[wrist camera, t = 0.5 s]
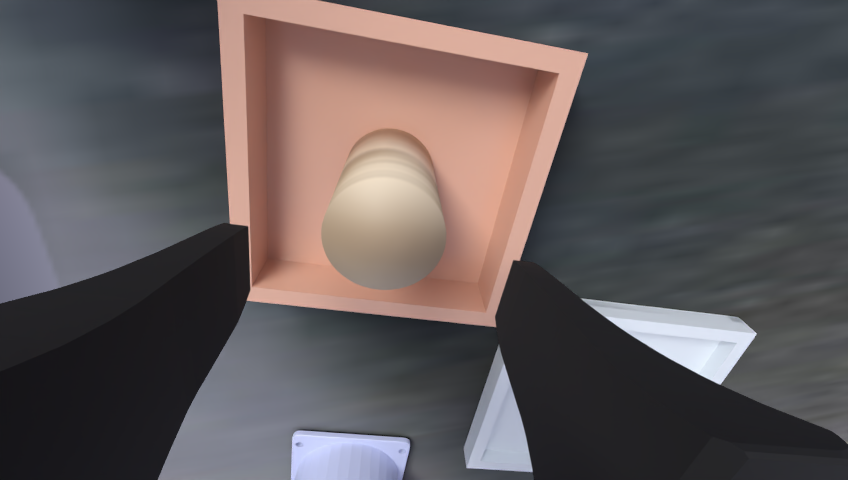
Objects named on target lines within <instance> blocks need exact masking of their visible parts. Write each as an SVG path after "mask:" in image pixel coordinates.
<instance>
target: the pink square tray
mask: <svg viewBox="0 0 848 480" xmlns="http://www.w3.org/2000/svg"><path fill="white" fill-rule="evenodd" d="M217 2H218V20H219V37H220V55H221V73H222V90H223V108H224V125H225V143H226V161H227V178H228V196H229V214H230V224H236V225H244V226H248V230H249V260H250V289H251V290H250V293H249V296H248V298H247V301H255V302H265V303H274V304H284V305H293V306H302V307H312V308H321V309H331V310H340V311H349V312H359V313H368V314H378V315H387V316H397V317H406V318H415V319H425V320H434V321H444V322H453V323H462V324H472V325H481V326H491V327H496V321H495V315H496V312H497V309H498V306H499V303H500V299H501V296H502V293H503V290H504V287H505V284H506V281H507V278H508V275H509V272H510V268H511V265H512V262H513V260H518V261H520V258H521V255H522V252H523V249H524V246H525V243H526V240H527V237H528V234H529V231H530V228H531V225H532V222H533V219H534V216H535V213H536V210H537V207H538V204H539V201H540V198H541V195H542V192H543V188H544V185H545V182H546V179H547V176H548V173H549V170H550V167H551V164H552V161H553V158H554V155H555V152H556V149H557V146H558V143H559V140H560V137H561V134H562V131H563V128H564V125H565V122H566V119H567V116H568V113H569V110H570V107H571V104H572V101H573V98H574V95H575V92H576V89H577V86H578V82H579V79H580V76H581V73H582V70H583V67H584V64H585V61H586V58H587V55H588V53H583V52H578V51H573V50H568V49H562V48H557V47H552V46H547V45H542V44H537V43H532V42H527V41H522V40H517V39H512V38H506V37H501V36H496V35H491V34H486V33H481V32H476V31H471V30H466V29H461V28H456V27H451V26H445V25H440V24H435V23H430V22H425V21H420V20H415V19H410V18H405V17H400V16H395V15H389V14H384V13H379V12H374V11H369V10H364V9H359V8H354V7H349V6H344V5H339V4H333V3H328V2H323V1H318V0H217ZM386 128H392V129H398V130H402V131H405V132H408V133H410V134H411V135H413V136H415V137H416V138H417V139H418V140H419V141H421V142H422V144H423V145H424V146H425V147H426V149H427V150H428V152H429V154H430V157H431V160H432V164H433V168H434V173H435V178H436V183H437V188H438V193H439V198H440V202H441V207H442V212H443V217H444V222H445V227H446V245H445V249H444V253H443V255H442V257H441V259H440V261H439V263H438V264H437V266H436V267H435V268H434V269H433V270H432V272H430V273H429V274H428V275H427V276H426V277H424V278H423V279H422V280H420V281H418V282H416V283H414V284H412V285H410V286H407V287H403V288H400V289H393V290H377V289H371V288H367V287H363V286H360V285H358V284H356V283H354V282H352V281H350V280H348V279H347V278H345V277H344V276H342V275H341V274H340V273H339V272H338V271H337V270H336V269H335V268H334V267H333V265H332V264H331V263H330V261H329V260H328V258H327V256H326V254H325V251H324V248H323V245H322V239H321V229H322V223H323V219H324V216H325V213H326V211H327V208H328V206H329V203H330V201H331V198H332V196H333V193H334V191H335V188H336V186H337V183H338V181H339V178H340V176H341V173H342V171H343V168H344V165H345V163H346V160H347V158H348V155H349V153H350V151H351V149H352V148H353V146H354V145H355V143H356V142H357V141H358V140H359V139H360V138H362V137H363V136H365V135H366V134H368V133H370V132H372V131H375V130H378V129H386Z"/></svg>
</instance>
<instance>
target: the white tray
mask: <svg viewBox="0 0 848 480" xmlns="http://www.w3.org/2000/svg"><path fill="white" fill-rule="evenodd" d="M581 299H582V298H581ZM582 300H583V301H584V302H586V303H587V304H588V305H590V306H591V307H592V308H594V309H595V310H596V311H598V312H599V313H600V314H602V315H603V316H604V317H606V318H607V319H608V320H610V321H611V322H613V323H614V324H615V325H617V326H618V327H620V328H621V329H623V330H624V331H626V332H627V333H629V334H630V335H632V336H633V337H635V338H636V339H638V340H640V341H641V342H643V343H644V344H646V345H648V346H649V347H651V348H652V349H654V350H656V351H657V352H659V353H661V354H662V355H664V356H666V357H668V358H669V359H671V360H673V361H675V362H677V363H679V364H680V365H682V366H684V367H686V368H688V369H690V370H692V371H694V372H696V373H697V374H699V375H701V376H703V377H705V378H707V379H709V380H711V381H713V382H715V383H718V384H721V383H722V382H723V380H724V379H725V377H726V376H727V375H728V373H729V372H730V371H731V369H732V368H733V366H734V365H735V364H736V362H737V361H738V359H739V358H740V357H741V355H742V354H743V353H744V351H745V350H746V348H747V347H748V346H749V344H750V343H751V341H752V340H753V339H754V337H755V336H756V334H757V333H756V332H754V331H753V330H752V329H751V328H750V327H749V326H748V325H747V324H745V323H744V322H743V321H742V320H741V319H740V318H739V317H734V316H726V315H717V314H709V313H700V312H692V311H683V310H675V309H666V308H658V307H649V306H641V305H632V304H624V303H616V302H607V301H599V300H590V299H582ZM464 454H465V461H466V468H476V469H492V470H508V471H524V472H533V470H532V465H531V460H530V455H529V450H528V445H527V440H526V435H525V431H524V427H523V423H522V420H521V416H520V413H519V410H518V407H517V403H516V400H515V397H514V394H513V390H512V387H511V384H510V381H509V378H508V374H507V371H506V368H505V365H504V361H503V358H502V354H501V351H500V347H499V346H498V349H497V351H496V354H495V357H494V360H493V363H492V366H491V369H490V372H489V375H488V378H487V381H486V384H485V387H484V390H483V393H482V395H481V398H480V401H479V404H478V407H477V410H476V413H475V416H474V419H473V422H472V425H471V428H470V431H469V434H468V437H467V440H466V442H465V445H464Z"/></svg>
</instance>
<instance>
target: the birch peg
mask: <svg viewBox="0 0 848 480" xmlns="http://www.w3.org/2000/svg"><path fill="white" fill-rule="evenodd" d="M321 239H322V245H323V248H324V251H325V254H326V256H327V258H328V260H329V261H330V263H331V264H332V265H333V267H334V268H335V269H336V270H337V271H338V272H339V273H340V274H341V275H342V276H344V277H345V278H347V279H348V280H350V281H352V282H354V283H356V284H358V285H360V286H363V287H367V288H371V289H377V290H393V289H400V288H403V287H407V286H410V285H412V284H414V283H416V282H418V281H420V280H422V279H423V278H424V277H426V276H427V275H428V274H429V273H430V272H432V270H433V269H434V268H435V267H436V266H437V264H438V263H439V261H440V259H441V257H442V255H443V253H444V249H445V245H446V227H445V222H444V217H443V212H442V207H441V202H440V198H439V193H438V188H437V183H436V178H435V173H434V168H433V164H432V160H431V157H430V154H429V152H428V150H427V149H426V147H425V146H424V145H423V144H422V142H421V141H419V140H418V139H417V138H416V137H415V136H413V135H411V134H410V133H408V132H405V131H402V130H398V129H392V128H386V129H378V130H375V131H372V132H370V133H368V134H366V135H365V136H363V137H362V138H360V139H359V140H358V141H357V142H356V143H355V145H354V146H353V148H352V149H351V151H350V153H349V155H348V158H347V160H346V163H345V165H344V168H343V171H342V173H341V176H340V178H339V181H338V183H337V186H336V188H335V191H334V193H333V196H332V198H331V201H330V203H329V206H328V208H327V211H326V213H325V216H324V219H323V223H322V229H321Z"/></svg>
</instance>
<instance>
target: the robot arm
mask: <svg viewBox="0 0 848 480" xmlns="http://www.w3.org/2000/svg"><path fill="white" fill-rule="evenodd" d="M250 290H251V289H250V260H249V230H248V226H244V225H236V224H228V223H223V224H220V225H217V226H214V227H212V228H210V229H207V230H205V231H203V232H201V233H198V234H196V235H194V236H192V237H190V238H188V239H185V240H183V241H181V242H179V243H177V244H174V245H172V246H170V247H168V248H165V249H163V250H161V251H159V252H157V253H154V254H152V255H149V256H147V257H144V258H142V259H139V260H137V261H134V262H132V263H130V264H127V265H125V266H122V267H120V268H117V269H115V270H112V271H109V272H107V273H104V274H101V275H98V276H95V277H92V278H89V279H86V280H83V281H80V282H77V283H74V284H71V285H67V286H64V287H61V288H58V289H54V290H51V291H47V292H43V293H39V294H35V295H32V296H28V297H24V298H20V299H16V300H12V301H9V302H5V303H1V304H0V480H158V477H159V475H160V473H161V470H162V468H163V465H164V463H165V461H166V458H167V456H168V454H169V451H170V449H171V447H172V444H173V442H174V440H175V438H176V435H177V433H178V431H179V429H180V427H181V424H182V422H183V420H184V418H185V415H186V413H187V411H188V409H189V407H190V405H191V403H192V401H193V399H194V398H195V396H196V394H197V392H198V390H199V388H200V387H201V385H202V383H203V382H204V380H205V378H206V376H207V375H208V373H209V371H210V370H211V368H212V366H213V364H214V363H215V361H216V359H217V358H218V356H219V354H220V352H221V351H222V349H223V347H224V346H225V344H226V342H227V340H228V339H229V337H230V335H231V333H232V332H233V330H234V328H235V326H236V324H237V323H238V321H239V318H240V316H241V313H242V311H243V309H244V306H245V303H246V301H247V298H248V296H249V293H250ZM495 321H496V329H497V336H498V341H499V347H500V351H501V354H502V358H503V361H504V365H505V368H506V371H507V374H508V378H509V381H510V384H511V387H512V390H513V394H514V397H515V400H516V403H517V407H518V410H519V413H520V416H521V420H522V423H523V427H524V431H525V435H526V440H527V445H528V450H529V455H530V460H531V465H532V470H533V475H534V480H848V444H847V443H846V442H845V441H844V440H842V439H841V438H840V437H839V436H838V435H836V434H835V433H833V432H832V431H830V430H827V429H825V428H822V427H820V426H817V425H814V424H812V423H809V422H807V421H804V420H802V419H799V418H797V417H794V416H792V415H789V414H786V413H784V412H781V411H779V410H776V409H774V408H771V407H769V406H766V405H764V404H761V403H759V402H757V401H755V400H752V399H750V398H748V397H746V396H744V395H741V394H739V393H737V392H735V391H732V390H730V389H728V388H726V387H724V386H722V385H720V384H718V383H715V382H713V381H711V380H709V379H707V378H705V377H703V376H701V375H699V374H697V373H696V372H694V371H692V370H690V369H688V368H686V367H684V366H682V365H680V364H679V363H677V362H675V361H673V360H671V359H669V358H668V357H666V356H664V355H662V354H661V353H659V352H657V351H656V350H654V349H652V348H651V347H649V346H648V345H646V344H644V343H643V342H641V341H640V340H638V339H636V338H635V337H633V336H632V335H630V334H629V333H627V332H626V331H624V330H623V329H621V328H620V327H618V326H617V325H615V324H614V323H613V322H611V321H610V320H608V319H607V318H606V317H604V316H603V315H602V314H600V313H599V312H598V311H596V310H595V309H594V308H592V307H591V306H590V305H588V304H587V303H586V302H584V301H583V300H582V299H581V298H579V297H578V296H577V295H576V294H574V293H573V292H572V291H571V290H569V289H568V288H567V287H566V286H564V285H563V284H562V283H561V282H560V281H558V280H557V279H556V278H555V277H553V276H552V275H551V274H549V273H548V272H547V271H546V270H544V269H543V268H541V267H540V266H539V265H537V264H535V263H533V262H526V261H518V260H513V262H512V265H511V268H510V272H509V275H508V278H507V281H506V284H505V287H504V290H503V293H502V296H501V299H500V303H499V306H498V309H497V312H496V315H495ZM409 450H410V440H409V439H407V438H403V437H388V436H374V435H360V434H346V433H331V432H317V431H303V430H300V431H296V432H295V433H294V434H293V438H292V463H291V480H402V478H403V474H404V470H405V466H406V462H407V458H408V454H409Z"/></svg>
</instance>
